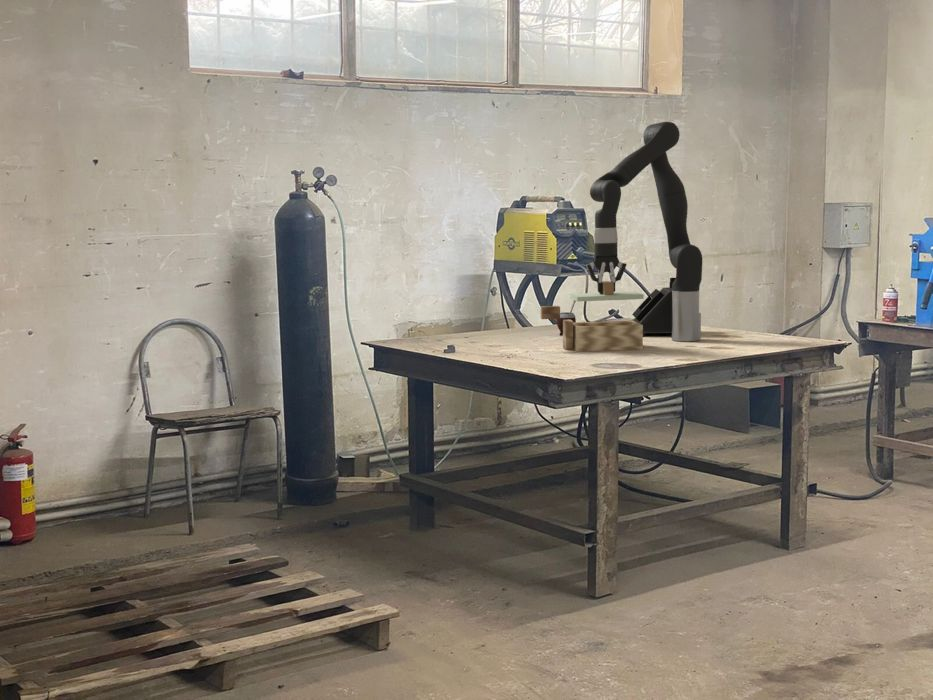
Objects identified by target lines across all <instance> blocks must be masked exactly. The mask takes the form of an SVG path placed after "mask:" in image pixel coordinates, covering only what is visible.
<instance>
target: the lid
mask: <svg viewBox="0 0 933 700" xmlns="http://www.w3.org/2000/svg"><path fill="white" fill-rule="evenodd" d="M602 283H603V294H600V293H599V292H586V293H585V292H584V293H583V292H581V293H570V294H569V295H570V299H571V300H573V301H574V300H575V301H576V302H596V301H597V302H599V301H603V302H604V301H623V300H624V301H625V300H628V301H629V300H630V301H631V300H645V298H644V297H645V296H644V294H643V293H640V292H637V291H615V292H614V283H613V282H611V281H609V280H602Z"/></svg>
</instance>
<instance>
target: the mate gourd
mask: <svg viewBox="0 0 933 700" xmlns="http://www.w3.org/2000/svg"><path fill="white" fill-rule="evenodd" d="M576 302H577V301H575V300H573V301H572V306H571V308H570V311H569V312H568V311H567V312H560V319H556V325H557V328H558V330H559V336H560V337H563V320H572V321H573V323H577V321H576V320H577V319H576V315H575V313H574V312H573V310H574V306H575V305H576V304H575V303H576Z"/></svg>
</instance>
